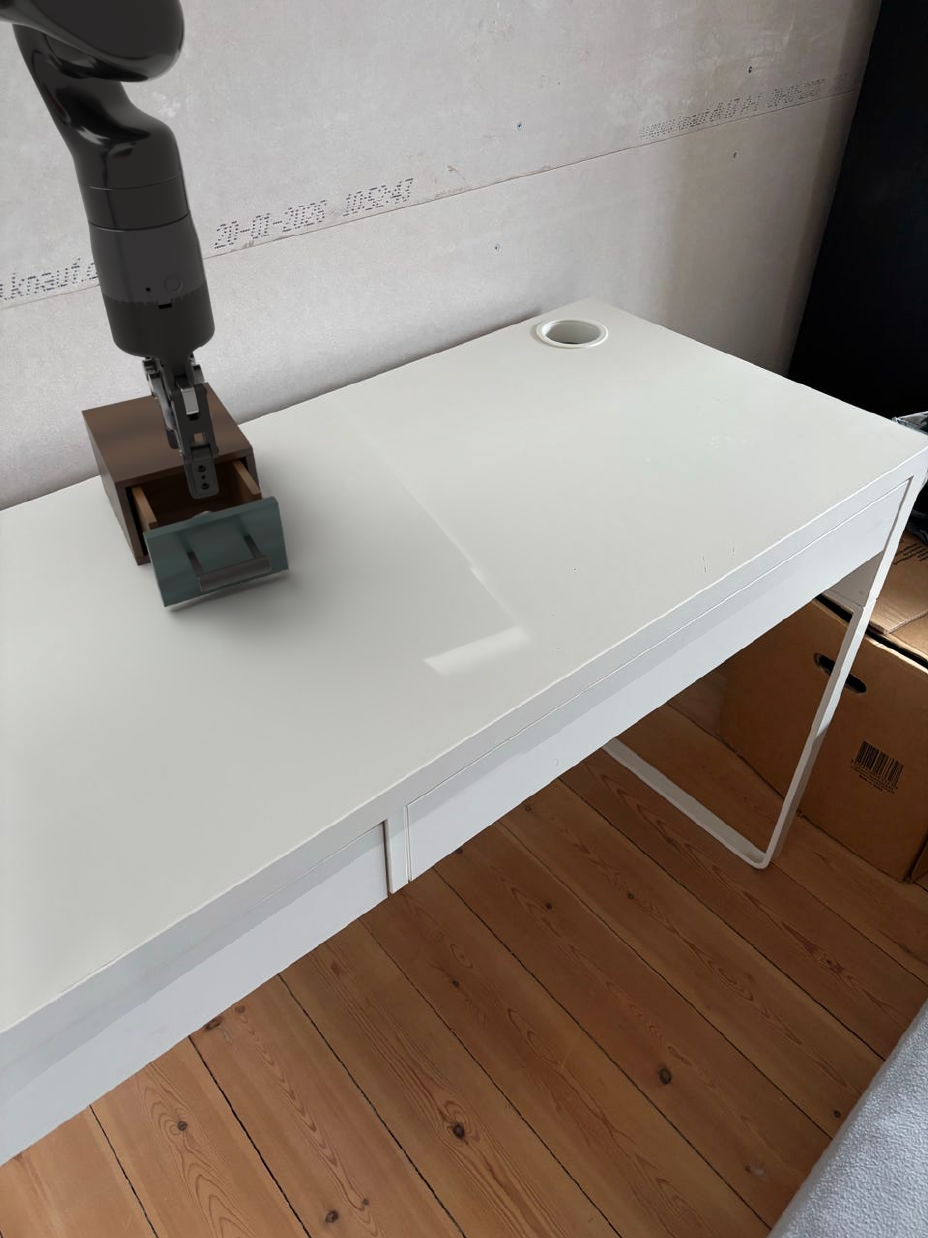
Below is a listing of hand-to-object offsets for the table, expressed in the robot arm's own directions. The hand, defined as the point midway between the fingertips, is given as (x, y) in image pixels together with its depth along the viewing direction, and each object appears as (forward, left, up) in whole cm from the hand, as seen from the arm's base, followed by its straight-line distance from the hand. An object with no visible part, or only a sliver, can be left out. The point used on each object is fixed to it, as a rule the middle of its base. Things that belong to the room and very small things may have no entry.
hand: (193, 469), depth 82 cm
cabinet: (0, +13, -12) cm, 17 cm away
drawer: (0, +2, -11) cm, 11 cm away
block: (0, 0, -7) cm, 7 cm away
